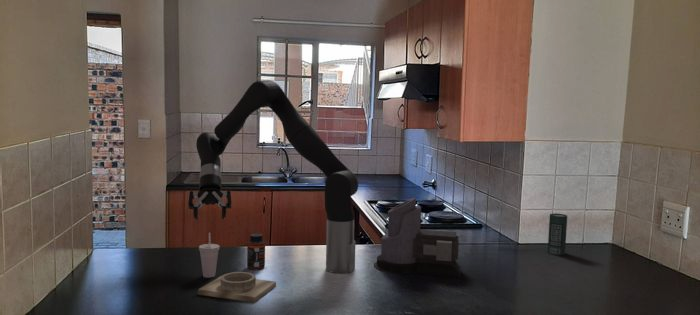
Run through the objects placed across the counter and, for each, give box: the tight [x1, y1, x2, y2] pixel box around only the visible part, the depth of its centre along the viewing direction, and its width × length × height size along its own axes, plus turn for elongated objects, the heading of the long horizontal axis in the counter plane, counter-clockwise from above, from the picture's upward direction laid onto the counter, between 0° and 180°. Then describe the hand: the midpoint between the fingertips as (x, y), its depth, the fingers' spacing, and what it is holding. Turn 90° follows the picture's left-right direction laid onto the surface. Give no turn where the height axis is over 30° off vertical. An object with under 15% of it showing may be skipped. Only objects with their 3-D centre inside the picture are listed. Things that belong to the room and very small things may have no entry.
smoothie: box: [198, 232, 220, 279], centre depth 169 cm, size 6×6×14 cm
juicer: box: [373, 197, 461, 278], centre depth 182 cm, size 30×16×24 cm, turn 78°
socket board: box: [197, 271, 277, 303], centre depth 156 cm, size 18×14×4 cm
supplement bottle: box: [246, 233, 266, 271], centre depth 178 cm, size 6×6×11 cm
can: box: [547, 213, 568, 256], centre depth 206 cm, size 6×6×15 cm
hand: (209, 217), depth 178 cm, fingers open, 8 cm apart
